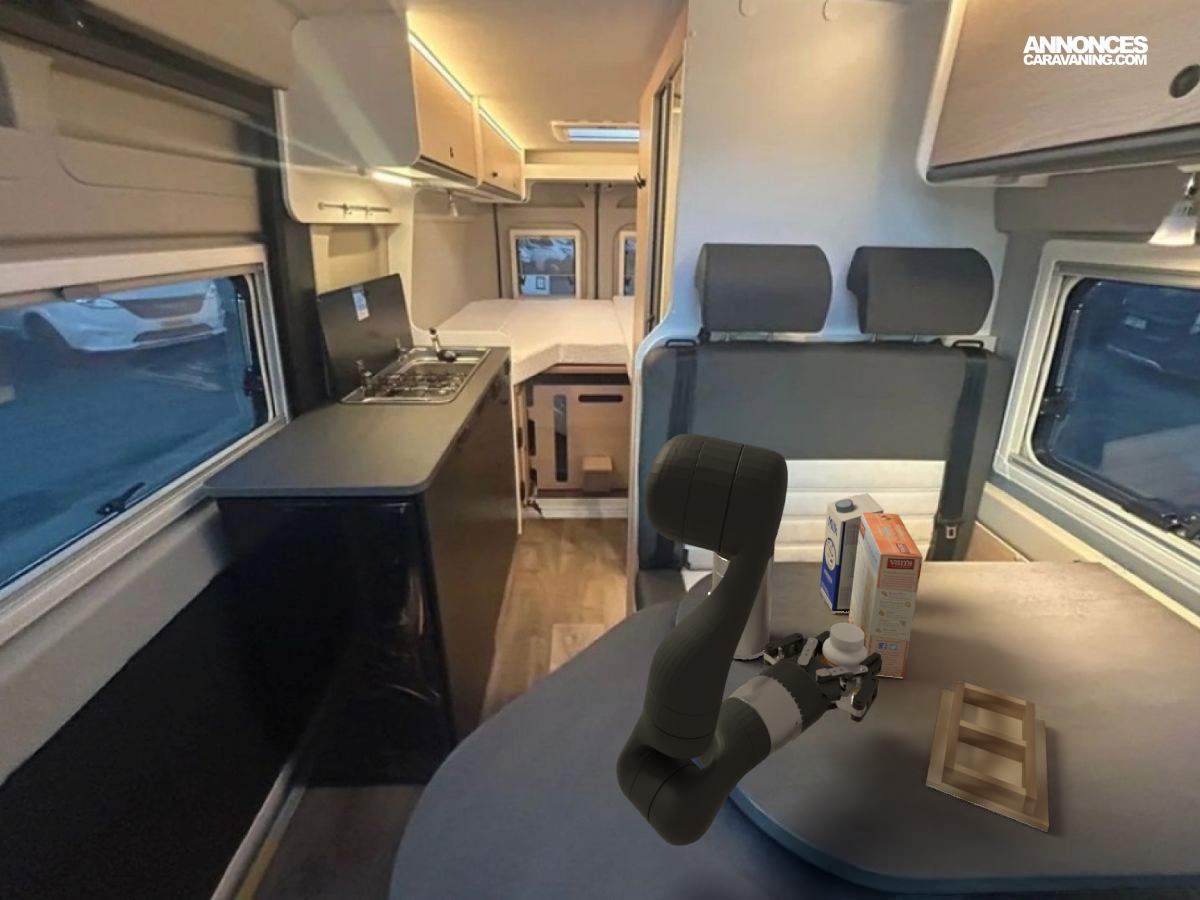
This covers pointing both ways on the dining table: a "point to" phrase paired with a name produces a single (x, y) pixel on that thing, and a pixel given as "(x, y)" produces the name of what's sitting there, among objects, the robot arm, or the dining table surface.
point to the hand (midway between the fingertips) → (855, 647)
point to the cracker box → (885, 588)
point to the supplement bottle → (844, 647)
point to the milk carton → (843, 548)
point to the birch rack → (991, 753)
